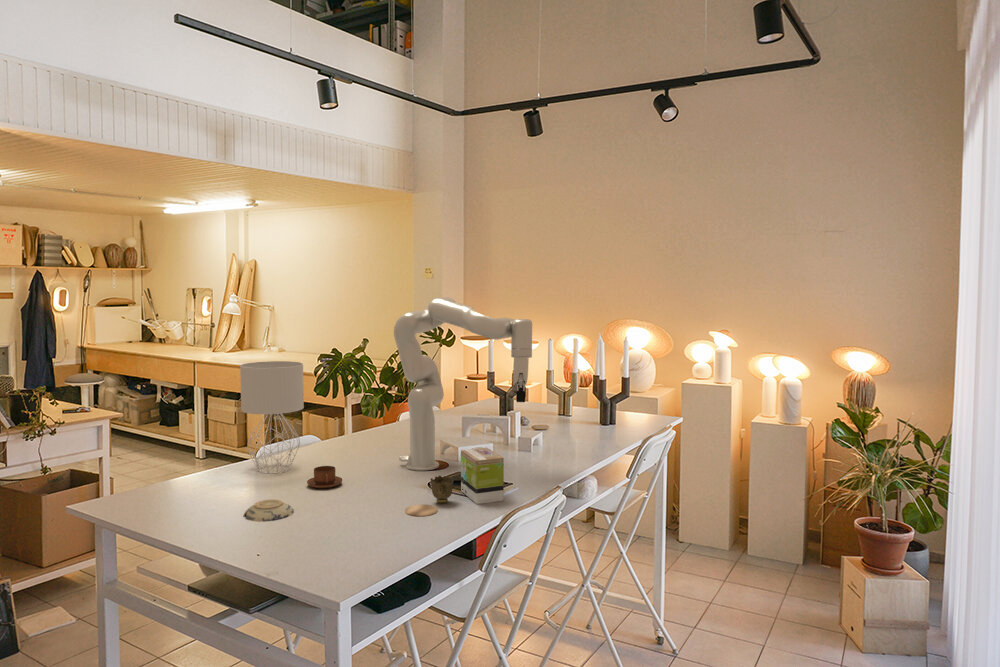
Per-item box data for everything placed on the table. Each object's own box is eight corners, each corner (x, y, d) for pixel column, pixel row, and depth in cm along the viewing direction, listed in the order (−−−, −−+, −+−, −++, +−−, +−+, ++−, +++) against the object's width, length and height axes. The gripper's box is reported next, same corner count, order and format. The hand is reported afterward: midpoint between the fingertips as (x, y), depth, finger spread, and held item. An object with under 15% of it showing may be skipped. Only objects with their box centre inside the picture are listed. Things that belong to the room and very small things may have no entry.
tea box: (459, 492, 239) (459, 449, 238) (487, 488, 243) (487, 446, 242) (475, 504, 225) (476, 459, 224) (504, 501, 229) (504, 456, 228)
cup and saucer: (348, 486, 245) (348, 469, 245) (316, 493, 237) (316, 475, 237) (332, 479, 254) (332, 462, 254) (301, 485, 246) (300, 467, 246)
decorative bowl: (304, 514, 217) (276, 503, 226) (304, 502, 216) (276, 492, 226) (260, 527, 205) (233, 515, 215) (260, 515, 205) (232, 504, 214)
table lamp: (237, 479, 253) (235, 368, 250) (247, 463, 275) (245, 361, 272) (302, 476, 257) (300, 367, 254) (306, 460, 279) (305, 360, 276)
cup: (442, 497, 232) (442, 473, 232) (458, 502, 228) (458, 478, 227) (425, 503, 227) (425, 478, 226) (442, 507, 222) (442, 482, 221)
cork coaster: (401, 515, 214) (401, 514, 214) (408, 505, 224) (408, 503, 224) (434, 516, 213) (434, 515, 213) (440, 506, 223) (440, 505, 223)
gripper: (512, 350, 264) (511, 395, 265) (510, 355, 247) (509, 403, 248) (532, 350, 263) (531, 396, 265) (531, 355, 246) (531, 404, 247)
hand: (521, 399), depth 256 cm, fingers open, 9 cm apart
